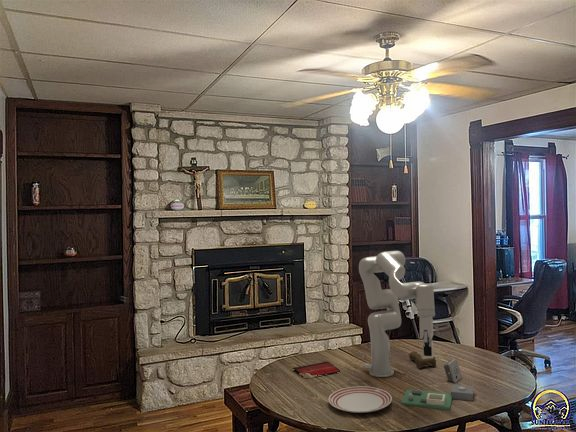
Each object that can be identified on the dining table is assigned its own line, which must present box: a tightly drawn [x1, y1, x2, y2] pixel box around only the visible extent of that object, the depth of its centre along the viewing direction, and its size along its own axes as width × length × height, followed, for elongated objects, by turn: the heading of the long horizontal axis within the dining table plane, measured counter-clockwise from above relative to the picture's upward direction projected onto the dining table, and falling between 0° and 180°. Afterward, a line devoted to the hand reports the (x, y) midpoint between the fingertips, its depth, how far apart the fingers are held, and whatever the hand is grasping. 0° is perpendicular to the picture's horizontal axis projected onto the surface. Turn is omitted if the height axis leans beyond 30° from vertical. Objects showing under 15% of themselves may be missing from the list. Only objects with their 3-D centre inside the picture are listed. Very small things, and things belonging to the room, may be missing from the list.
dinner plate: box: [328, 385, 393, 414], centre depth 213 cm, size 27×27×3 cm
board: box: [400, 388, 453, 411], centre depth 214 cm, size 20×16×3 cm
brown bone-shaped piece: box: [408, 351, 437, 370], centre depth 261 cm, size 6×10×20 cm
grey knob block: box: [450, 384, 474, 402], centre depth 217 cm, size 9×9×4 cm
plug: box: [421, 339, 435, 359], centre depth 214 cm, size 4×4×8 cm
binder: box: [292, 361, 341, 376], centre depth 259 cm, size 16×2×21 cm
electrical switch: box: [443, 358, 463, 384], centre depth 238 cm, size 9×5×9 cm, turn 141°
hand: (428, 353), depth 214 cm, fingers closed on plug, 4 cm apart
